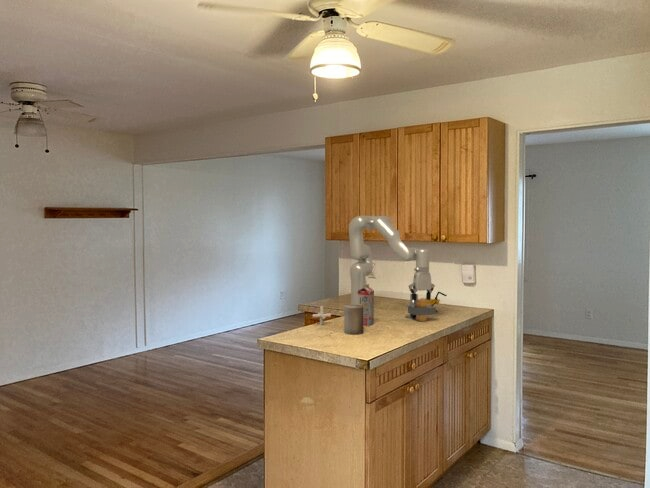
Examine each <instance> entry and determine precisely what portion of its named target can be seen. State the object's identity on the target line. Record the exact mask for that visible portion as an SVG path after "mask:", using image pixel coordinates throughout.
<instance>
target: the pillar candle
mask: <svg viewBox="0 0 650 488" xmlns="http://www.w3.org/2000/svg"><path fill="white" fill-rule="evenodd" d="M344 308H345V311H344V329H343V330H344V333H345V334H347V335H362V334H363V333H364V326H363V305H354V304H352V305H351V304H346V305H344V307H343V309H344Z"/></svg>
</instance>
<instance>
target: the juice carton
mask: <svg viewBox="0 0 650 488" xmlns="http://www.w3.org/2000/svg"><path fill="white" fill-rule="evenodd" d="M358 305H363V327H370V326H373V325H374V323H375V321H374V320H375V319H374V317H375V290H374V289H373V288H371V287H370V284H369V283H368V284H367V285H363V289H361V290H359V291H358Z"/></svg>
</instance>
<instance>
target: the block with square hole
mask: <svg viewBox="0 0 650 488" xmlns="http://www.w3.org/2000/svg"><path fill="white" fill-rule="evenodd" d="M409 297H410V299H409V301H410V302H407V303H405V304H404V306H405V307H407V313H408V314H409V315H405V318H407V319H410V320H416V316H421V315H426V316H431V315H437V314H436V313H437V312H436V310H437V309H436V307H435V306H433V307H432V306H429V305H430V304H429V305H428V304H427V307H417V299H419V294H418V293H416V301H414V300H412V293H410V295H409Z"/></svg>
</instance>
